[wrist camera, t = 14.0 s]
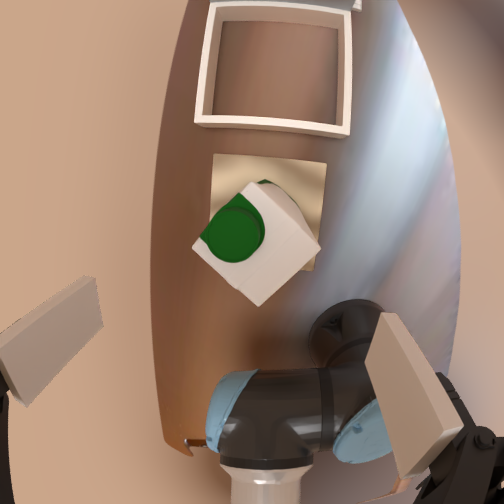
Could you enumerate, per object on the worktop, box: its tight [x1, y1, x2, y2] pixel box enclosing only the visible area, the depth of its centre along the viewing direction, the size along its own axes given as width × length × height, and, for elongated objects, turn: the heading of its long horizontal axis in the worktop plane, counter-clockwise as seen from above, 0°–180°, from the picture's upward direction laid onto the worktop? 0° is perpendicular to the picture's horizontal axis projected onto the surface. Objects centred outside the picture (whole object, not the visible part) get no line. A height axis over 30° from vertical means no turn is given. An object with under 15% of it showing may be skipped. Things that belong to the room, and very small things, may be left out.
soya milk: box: [192, 179, 321, 307], centre depth 30 cm, size 9×9×20 cm
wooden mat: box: [210, 154, 327, 271], centre depth 40 cm, size 16×16×1 cm
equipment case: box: [194, 0, 356, 139], centre depth 23 cm, size 27×20×21 cm
